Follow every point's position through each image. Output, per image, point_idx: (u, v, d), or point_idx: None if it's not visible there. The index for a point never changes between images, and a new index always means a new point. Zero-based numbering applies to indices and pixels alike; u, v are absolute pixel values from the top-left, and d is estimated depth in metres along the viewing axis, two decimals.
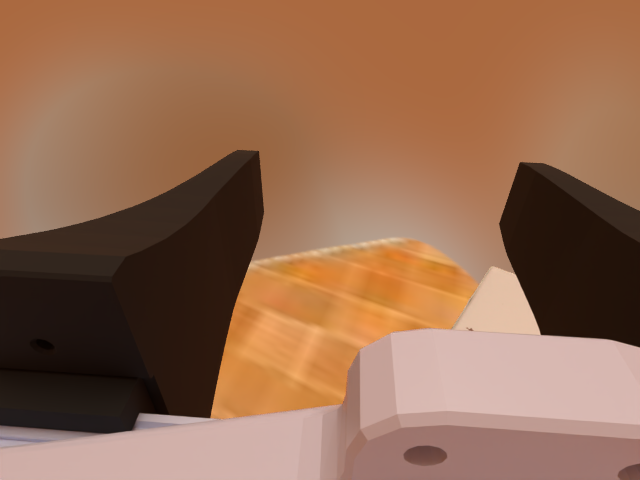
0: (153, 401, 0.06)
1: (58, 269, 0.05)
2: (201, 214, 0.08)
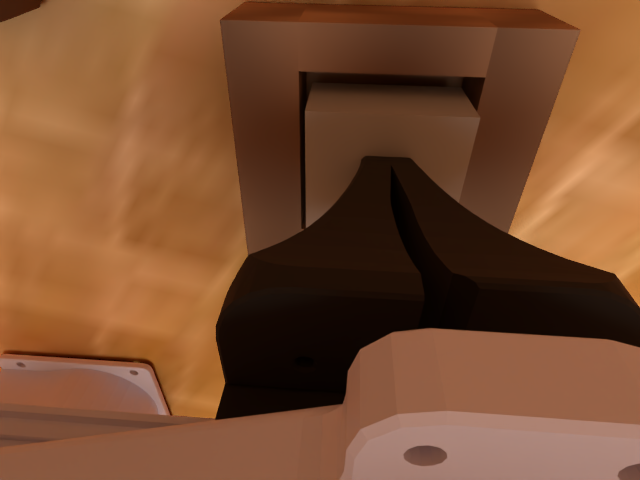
0: None
1: (363, 287, 0.05)
2: None
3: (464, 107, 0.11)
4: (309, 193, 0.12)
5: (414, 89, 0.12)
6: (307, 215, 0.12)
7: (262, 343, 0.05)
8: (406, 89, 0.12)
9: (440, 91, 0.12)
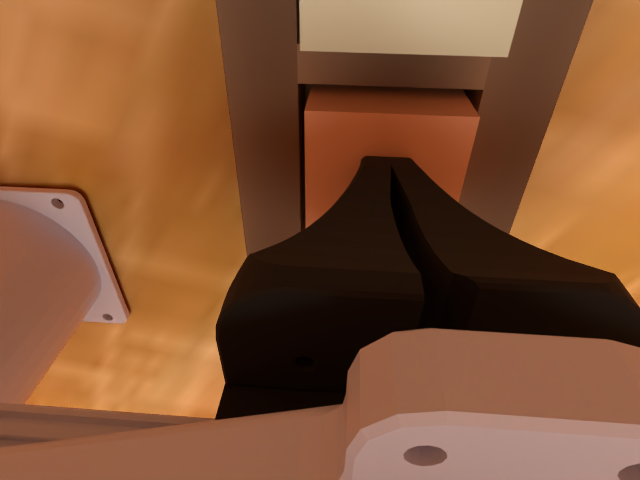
0: None
1: (363, 287, 0.05)
2: None
3: None
4: None
5: None
6: None
7: (262, 344, 0.05)
8: None
9: None
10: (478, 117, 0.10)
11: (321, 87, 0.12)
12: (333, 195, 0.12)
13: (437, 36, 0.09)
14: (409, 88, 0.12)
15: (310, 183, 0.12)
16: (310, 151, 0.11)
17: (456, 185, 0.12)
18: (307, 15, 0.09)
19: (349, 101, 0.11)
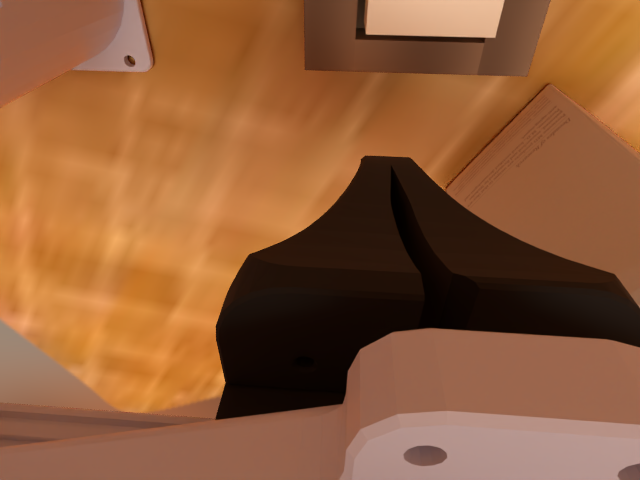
0: None
1: (363, 287, 0.05)
2: None
3: None
4: None
5: None
6: None
7: (262, 344, 0.05)
8: None
9: None
10: None
11: None
12: None
13: None
14: None
15: None
16: None
17: None
18: None
19: None
